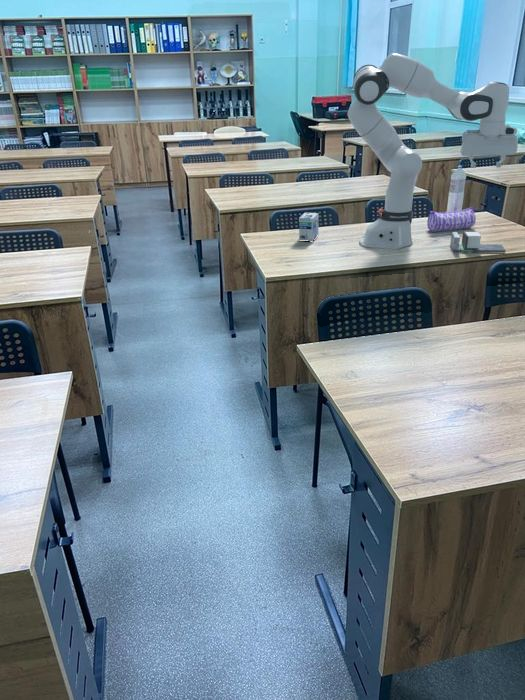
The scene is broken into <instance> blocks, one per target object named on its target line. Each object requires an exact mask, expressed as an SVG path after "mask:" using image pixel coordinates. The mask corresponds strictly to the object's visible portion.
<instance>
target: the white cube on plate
mask: <svg viewBox="0 0 525 700" xmlns="http://www.w3.org/2000/svg"><path fill="white" fill-rule="evenodd" d="M481 239H482V235H481V234H480V233H479V231H465V230H464V231H462V237H461V244H462V245H463V246H464V248H465V249H467V248H479V246H480V244H481Z"/></svg>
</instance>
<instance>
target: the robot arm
mask: <svg viewBox="0 0 525 700" xmlns="http://www.w3.org/2000/svg"><path fill="white" fill-rule="evenodd" d="M352 83H353V84H352V88H353V94H354V97H355V100H354V101H353V102H352V103H351V105H350V106H349V108H348V110H347V117H348V119H349V121H350V123H351V125H352V126H353V129H355V131H356V132H357V133H358V135H359V136H360V137H361V138H362V139H363V141H364V142H365V143H366V144H367V145H368V146H369V148H370V149H371V150H372V151H373V152H374V154H375V156H376V157H377V158H378V159H379V161H380V163H382V165H383V166H384V168H385V169H386V170H387V171H388V172H390V177H389V181H388V186H387V188H386V190H385V199H384V200H385V201H384V209H382V208H379V209H378V210H377V212H378V214H379V215H378V216H379V218H378V219H376V220H375V221H373V222H372V223H371V224H370V225H368V226H367V227H366V229H365V232H364V236H361V237H360V238H359V245H360V246H361V247H365V248H378V249H389V250H390V249H392V250H398V249H401V248H405V247H408V246H411V245H413V238H412V227H411V225H412V221H413V213H414V212H413V209H412V208H413V197H414V190H415V187H416V183H417V180H418V176H419V174H420V172H421V170H422V169H423V168H422V167H423V159H422V158H421V155H419V153H418V152H417V151H415V150H414V149H412V148H410V147H408V146H407V145H406V144H404V142H403V140H402V139H401V138H400V136H399V135H398V133H397V131H396V129H395V128H394V127H393V125H392V124H391V123H390V121H389V120H388V119H387V118H386V117H385V115H384V114H383V113H382V112H381V111H380V110H379V108H378V106H377V105H376V102H378V101H379V100H380V99H382V97H383V95H384V94H385V93H386V92H387V91H388V90H389V88H392V89H395V90H397V91H399V92H401V93H403V94H406V95H408V96H410V97H414V98H421V99H428V100H431V101H433V102H435V103H437V104H439V105H441V106H443V107H445V108H446V109H447V110H448V112H449V113H450V115H452V117H454V119H456V120H460V121H462V120H463V121H467V122H474V121H477V120H480V121H479V128H478V129H467V130H466V131H463V133H462V135H461V142H462V143H461V147H460V151H459V153H460V155H462V156H463V157H468V158H469V161H470V163H471V164H470V168H471V169H473V168H474V169H475V168H476V167H477V162H474V159H475V157H477V156H482V157H483V156H500V160H498V162H496V165H495V168H502V164H503V162H504V161H505V160H506V157H507V156H515V155H516V154H517V151H518V147H519V146H518V144H519V143H518V142H519V141H518V140H519V138H518V136H517V133H518V129H517V128H516V127H514V126H511V125H510V124H506V113H507V110H508V108H509V101H510V100H509V99H510V86H509V85H508V84H507V83H505V82H500V81H489V82H487V83H486V84H485V85H484V86H482V87H480V88H478V89H476V90H474V91H471V92H470V91H466V90H464V91H459V90H458V91H457V90H454V89H452V87H451V88H450V87H448V86H447V85H445V84H443V83H441V82H439V80H437V78H436V77H435V72H434V71H433V70H432V69H431V68H429V66H427V65H425V64H424V63H423V62H421V61H419V60H417V59H415V58H413V57H410V56H407V55H405V54H400V53H395V52H394V53H391V54H389V55H387V56H386V58H384V60H383V62H382V63H381V65H380V66H379V67H378V66H375V65H373V64H365V65H362V66H361V67H360V68H358V69H357V70H356V72H355V73H354V76H353V82H352Z"/></svg>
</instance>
